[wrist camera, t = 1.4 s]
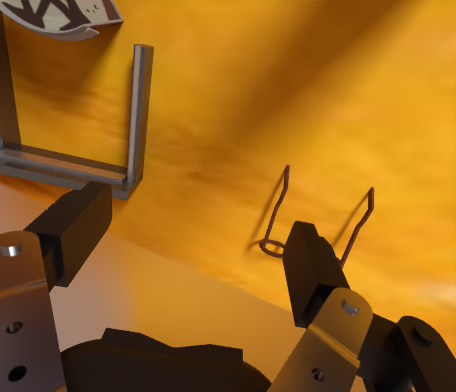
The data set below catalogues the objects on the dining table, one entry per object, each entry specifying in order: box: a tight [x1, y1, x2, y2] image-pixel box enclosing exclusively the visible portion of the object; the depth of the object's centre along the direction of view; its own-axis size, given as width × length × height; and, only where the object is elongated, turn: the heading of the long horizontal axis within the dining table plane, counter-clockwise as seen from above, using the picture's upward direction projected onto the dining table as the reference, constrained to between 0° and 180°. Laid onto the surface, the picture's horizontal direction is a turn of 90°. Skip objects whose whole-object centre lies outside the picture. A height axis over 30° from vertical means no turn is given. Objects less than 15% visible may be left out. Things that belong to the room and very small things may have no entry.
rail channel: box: [0, 10, 154, 200], centre depth 31 cm, size 17×17×6 cm
